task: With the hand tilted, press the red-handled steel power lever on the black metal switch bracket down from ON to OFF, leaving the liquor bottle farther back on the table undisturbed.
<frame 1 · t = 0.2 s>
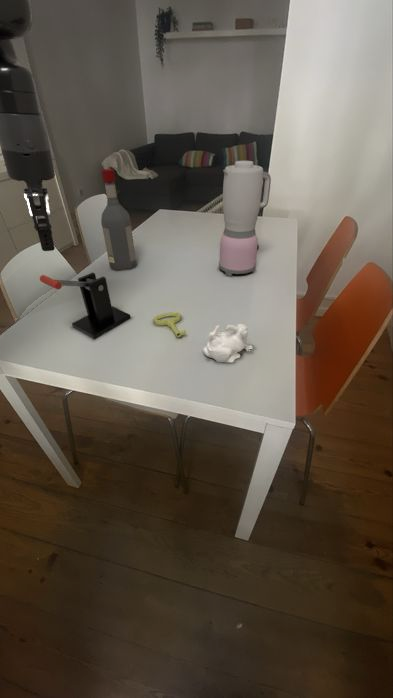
hand: (47, 242, 63), 24 cm above the table, tool pointing down, fingers open, 8 cm apart
rabbit figurine: (229, 358, 72), on the table
blender: (241, 269, 109), on the table
liquor: (123, 265, 113), on the table
key: (171, 327, 82), on the table
lever: (74, 283, 73), point 13 cm above the table, hinge at 25.0°
switch bracket: (102, 322, 84), on the table
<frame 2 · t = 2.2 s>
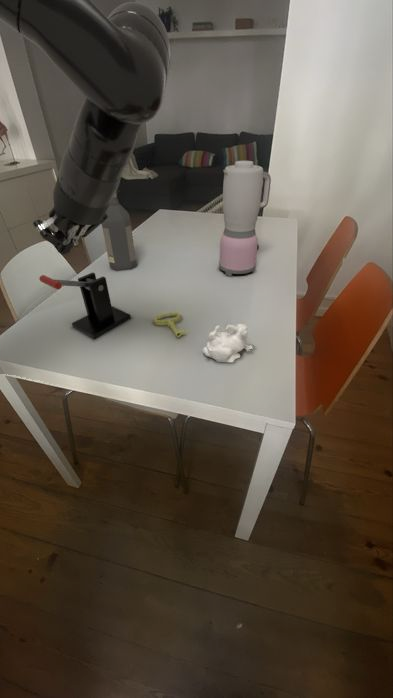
hand: (61, 249, 58), 25 cm above the table, tool tilted 45°, fingers closed
nothing on the table moved.
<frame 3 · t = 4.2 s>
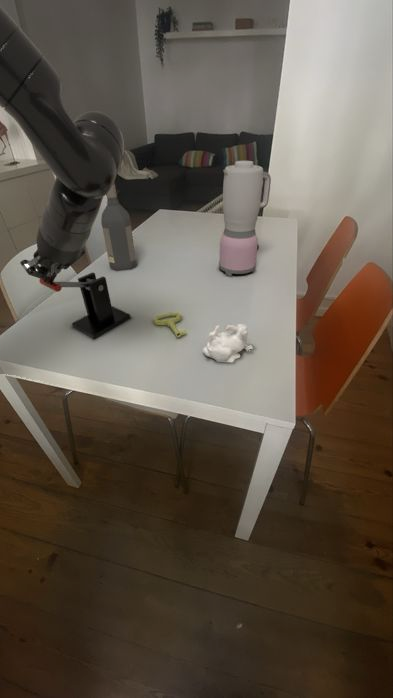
hand: (47, 278, 67), 17 cm above the table, tool tilted 45°, fingers closed
lever: (74, 284, 73), point 13 cm above the table, hinge at 22.4°, touching gripper
everything else where it was.
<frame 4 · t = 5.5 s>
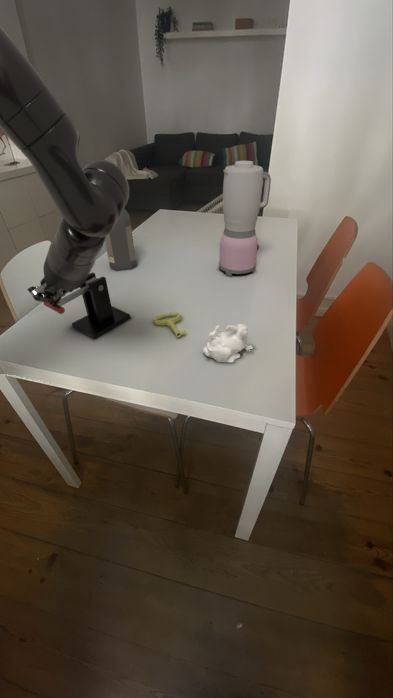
hand: (52, 300, 70), 11 cm above the table, tool tilted 45°, fingers closed
lever: (75, 294, 74), point 11 cm above the table, hinge at -4.7°, touching gripper
everything else where it was.
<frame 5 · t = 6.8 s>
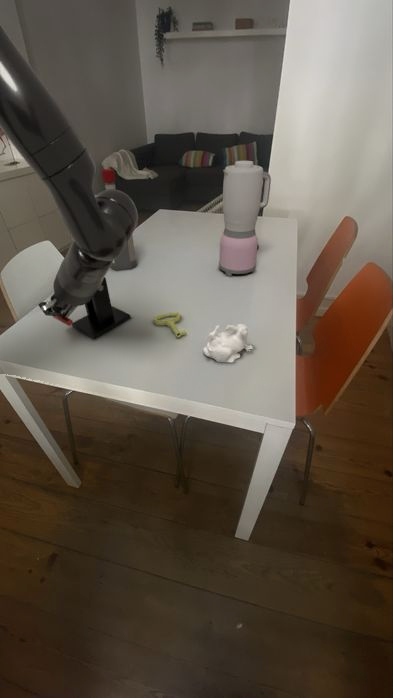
hand: (60, 313, 73), 8 cm above the table, tool tilted 45°, fingers closed
lever: (78, 300, 75), point 9 cm above the table, hinge at -24.5°, touching gripper
everything else where it was.
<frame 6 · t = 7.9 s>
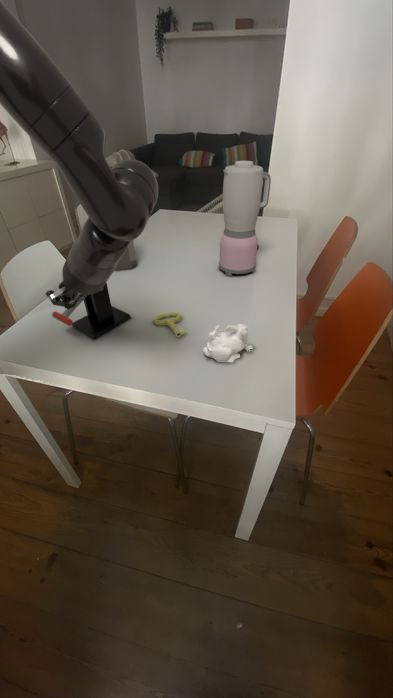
hand: (67, 304, 68), 12 cm above the table, tool tilted 45°, fingers closed
lever: (78, 300, 75), point 9 cm above the table, hinge at -24.6°
everything else where it was.
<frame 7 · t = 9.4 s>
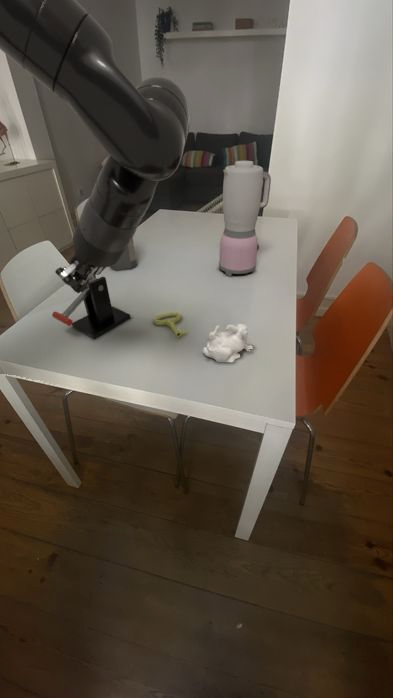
hand: (77, 288, 60), 18 cm above the table, tool tilted 40°, fingers closed
nothing on the table moved.
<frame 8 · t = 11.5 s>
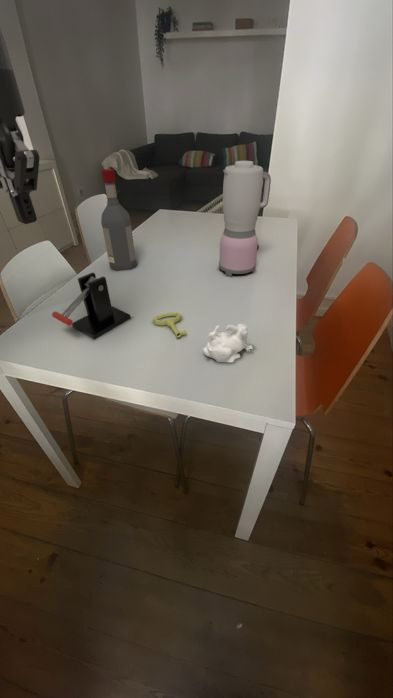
hand: (28, 221, 47), 32 cm above the table, tool pointing down, fingers closed
nothing on the table moved.
at the end: lever at -25° (first picture: +25°); liquor moved 0.2 cm from its start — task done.
